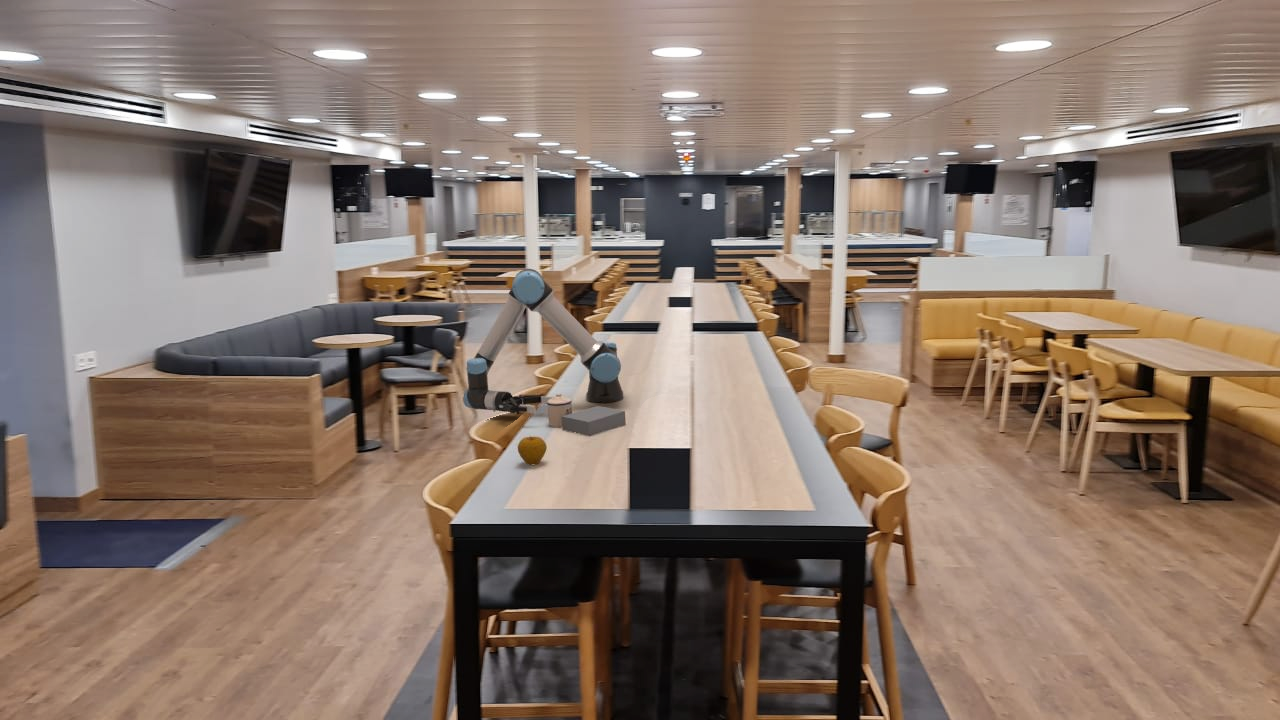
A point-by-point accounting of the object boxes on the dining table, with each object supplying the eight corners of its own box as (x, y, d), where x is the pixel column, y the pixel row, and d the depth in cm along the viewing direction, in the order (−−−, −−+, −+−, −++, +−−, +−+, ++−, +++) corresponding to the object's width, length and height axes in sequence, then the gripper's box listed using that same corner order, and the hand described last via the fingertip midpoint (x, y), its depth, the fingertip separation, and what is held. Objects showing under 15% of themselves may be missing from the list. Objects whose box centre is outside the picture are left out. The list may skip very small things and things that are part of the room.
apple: (546, 458, 282) (544, 431, 281) (548, 466, 274) (546, 438, 272) (518, 460, 281) (516, 433, 279) (519, 469, 272) (517, 441, 270)
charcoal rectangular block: (598, 418, 328) (597, 405, 327) (625, 424, 318) (624, 411, 317) (562, 429, 315) (561, 416, 314) (589, 436, 305) (588, 422, 304)
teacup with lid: (569, 428, 317) (567, 396, 315) (544, 427, 319) (542, 396, 317) (578, 419, 329) (576, 388, 326) (555, 419, 331) (553, 388, 328)
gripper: (519, 403, 347) (564, 407, 337) (479, 418, 325) (526, 423, 315) (518, 384, 345) (563, 388, 335) (477, 399, 324) (525, 403, 314)
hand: (545, 405), depth 325 cm, fingers open, 13 cm apart
